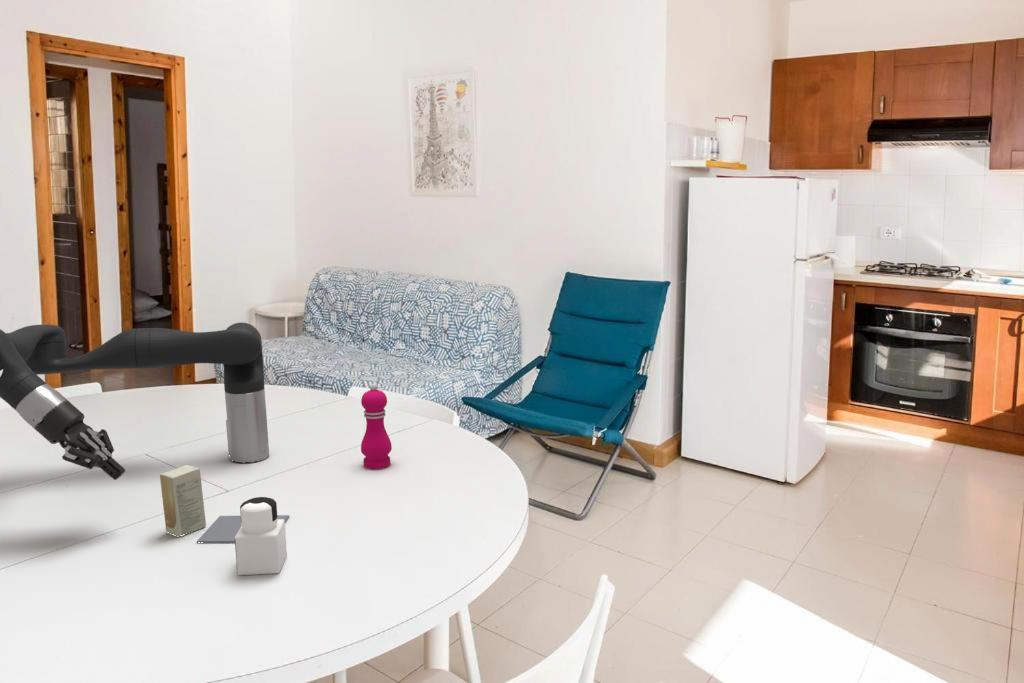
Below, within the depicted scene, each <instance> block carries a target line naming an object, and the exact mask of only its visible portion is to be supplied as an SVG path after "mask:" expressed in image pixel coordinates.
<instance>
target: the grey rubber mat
mask: <svg viewBox="0 0 1024 683" xmlns="http://www.w3.org/2000/svg"><path fill="white" fill-rule="evenodd" d="M277 518H278V519H284V521H285V524H286V523H287V521H288V520H289V519H290V514H289V515H288V514H287V515H286V514H283V515H282V514H279V515H278V514H277ZM241 526H242V525H241V515H219V516H218V517H217V518H216V519H215V520H214V522H213V523H212V524H211V525H210V526H209V527H208V528H207V529H206V530H205V531H204V532H203V533H202V535H201V536H199V538H198V539H197V540H196V544H235V536H236V534H237V533H238V531H239V529H240V528H241ZM198 542H200V543H198ZM201 542H203V543H201Z"/></svg>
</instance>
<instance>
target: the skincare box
mask: <svg viewBox="0 0 1024 683" xmlns="http://www.w3.org/2000/svg"><path fill="white" fill-rule="evenodd" d="M201 476H202V474H201V469H200V468H198V467H197V466H193V465H190V464H185V465H181V466H179V467H175V468H173V469H170V470H168V471H165V472H162V473H159V479H160V489H161V498H162V505H163V506H162V507H163V515H164V523H165V531H167V532H169V533H171V534H174V535H176V536H180V535H183V534H186V533H189V532H191V533H194V532H196V531H198V529H199V530H201V529H203V528H206V527H207V521H206V513H205V505H204V504H205V503H204V494H203V488H202V487H203V486H202V485H203V484H202V477H201ZM200 528H201V529H200ZM195 530H196V531H195ZM193 531H194V532H193ZM167 532H166V533H167ZM171 534H170V535H171ZM189 534H190V533H189ZM176 536H175V537H176Z"/></svg>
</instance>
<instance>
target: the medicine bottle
mask: <svg viewBox="0 0 1024 683" xmlns="http://www.w3.org/2000/svg"><path fill="white" fill-rule="evenodd" d="M239 511H240V512H239V513H240V516H241V525H242V526H241V528H240V529H239V531H238V533H237V534H236V536H235V543H234V546H235V548H234V549H235V559H236V572H237V575H238V576H253V575H254V576H255V575H274V574H275V575H276V574H277V575H278V574H279V573H281V570H282V567H283V565H284V563H285V561H286V558H287V556H288V550H287V539H286V538H287V536H286V523H285V521H284V519H278V518H277V515H278V506H277V501H276V500H275V499H274V498H271V497H266V496H257V497H253V498H249V499H247V500H245V501H244V502H242V503H241V505H240V506H239Z"/></svg>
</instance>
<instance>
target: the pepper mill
mask: <svg viewBox="0 0 1024 683" xmlns="http://www.w3.org/2000/svg"><path fill="white" fill-rule="evenodd" d="M360 401H361V402H360V403H361V406H362V408H363V409H364V411H363V414H364V415H363V417H364V419H365V421H366V428H365V432H364V435H363V438H362V441H361V444H360V451H361V454H362V455H363V456H364V458H363V467H364V468H365V469H368V470H374V469H376V470H382V469H386V468H388V467H390V466H389V465H391V456H389V455H390V453H391V451H392V448H393V447H392V441H391V438H390V436H389V434H388V433H387V431H386V427H385V422H384V420H385V417H386V409H385V407H386V406H387V405H388V397H387V395H386V393H385V392H384V391H382V390H380V389H378V385H377V384H376V383H371V384H370V385H369V390H367V391H365V392H364V393H363V394H362V396H361V400H360Z"/></svg>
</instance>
